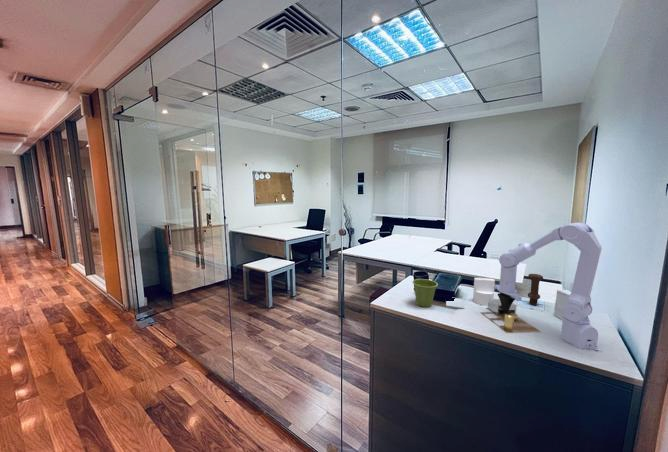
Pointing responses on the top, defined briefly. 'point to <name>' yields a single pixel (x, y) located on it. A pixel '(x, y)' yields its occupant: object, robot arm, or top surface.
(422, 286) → the plant pot
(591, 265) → the robot arm
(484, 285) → the base with upright slab
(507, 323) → the pin
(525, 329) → the board
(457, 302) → the hard drive
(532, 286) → the bolt
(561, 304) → the skincare box
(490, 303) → the housing
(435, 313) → the top surface
